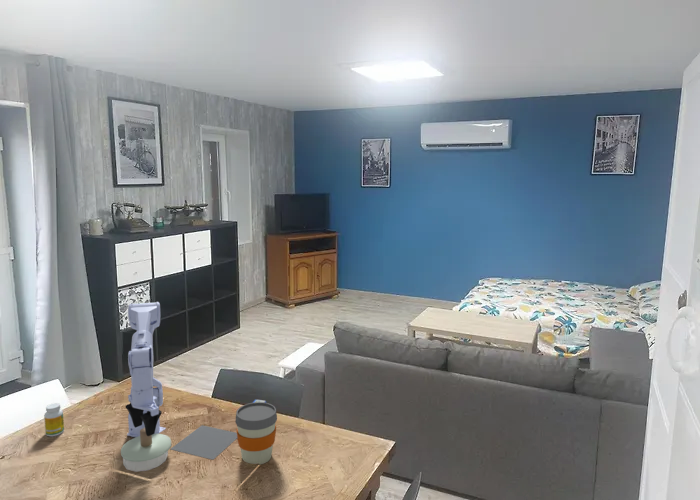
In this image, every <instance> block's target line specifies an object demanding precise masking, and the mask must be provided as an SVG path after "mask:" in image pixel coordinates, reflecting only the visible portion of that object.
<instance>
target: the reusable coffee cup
mask: <svg viewBox="0 0 700 500" xmlns="http://www.w3.org/2000/svg"><path fill="white" fill-rule="evenodd" d="M253 402H254V401H253ZM253 402H250V403H246V404H244V405H242V406H240V407H239V408H238V409H237V410H236V413H235V419H234V420H235V421H234V422H235V425H236V427H237V428H236V432H235V433H237V442H238V443H237V444H238V446H239V448H240V454H241V459H242V460H243V461H244V462H245V463H248V464H255V465H256V464H258V465H260V466H261V465H263V464H266V463H267V462H269V461H270V460H271V459H272V454H273V448H274V447H273V445H274V444H275V441H276V440H275V439H276V432H277V425H276V422H277V421H278V413H277V408H276V407H275V405H273V404H271V403H270V402H266V403H264V402H254V403H253Z"/></svg>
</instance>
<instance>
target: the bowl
mask: <svg viewBox="0 0 700 500" xmlns="http://www.w3.org/2000/svg"><path fill="white" fill-rule="evenodd" d="M168 456H169V450H168V451H167V452H166V453H164V454H163V455H161V456H159V457H157V458H154V459H151V460H147V461H140V462H134V461H128V460H126V459H124V458H123V457H122V463H123V466H124V468H125V469H126V470H128V471H132V472H145V471H149V470H153V469H155V468H158V467H160V466H161V465H162V464H163V463H165V462H166V461H167V459H168Z"/></svg>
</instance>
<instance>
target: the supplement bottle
mask: <svg viewBox="0 0 700 500" xmlns="http://www.w3.org/2000/svg"><path fill="white" fill-rule="evenodd" d="M61 407H62V406H61V404H60V403H58V402H53V403H51V404H48V405H46V407H45V411H46V412H45V413H44V415H43V418H44V419H43V420H44V432H45V435H46V436H47V437H57V436H59V435H61V434H63V433H64V432H65V424H64V423H65V422H64V410H63V409H61Z"/></svg>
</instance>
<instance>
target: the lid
mask: <svg viewBox="0 0 700 500" xmlns="http://www.w3.org/2000/svg"><path fill="white" fill-rule="evenodd" d="M171 448H172V439H171V437H170V436H169V435H167V434H162V433H159V434H153V435H150V436H147V435H146V431H145V428H143V429H141V430H140V436H138V437H132V438H131V439H130V440H127V442H125V443H124V444H123V445H122V446H121V449H120V455H121V457H122V459H123V458H124V459H126V460H128V461H134V462H140V461H147V460H151V459H154V458H157V457H159V456H161V455H163V454H164V453H166V452H167V451H168V452H169V450H171Z"/></svg>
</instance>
